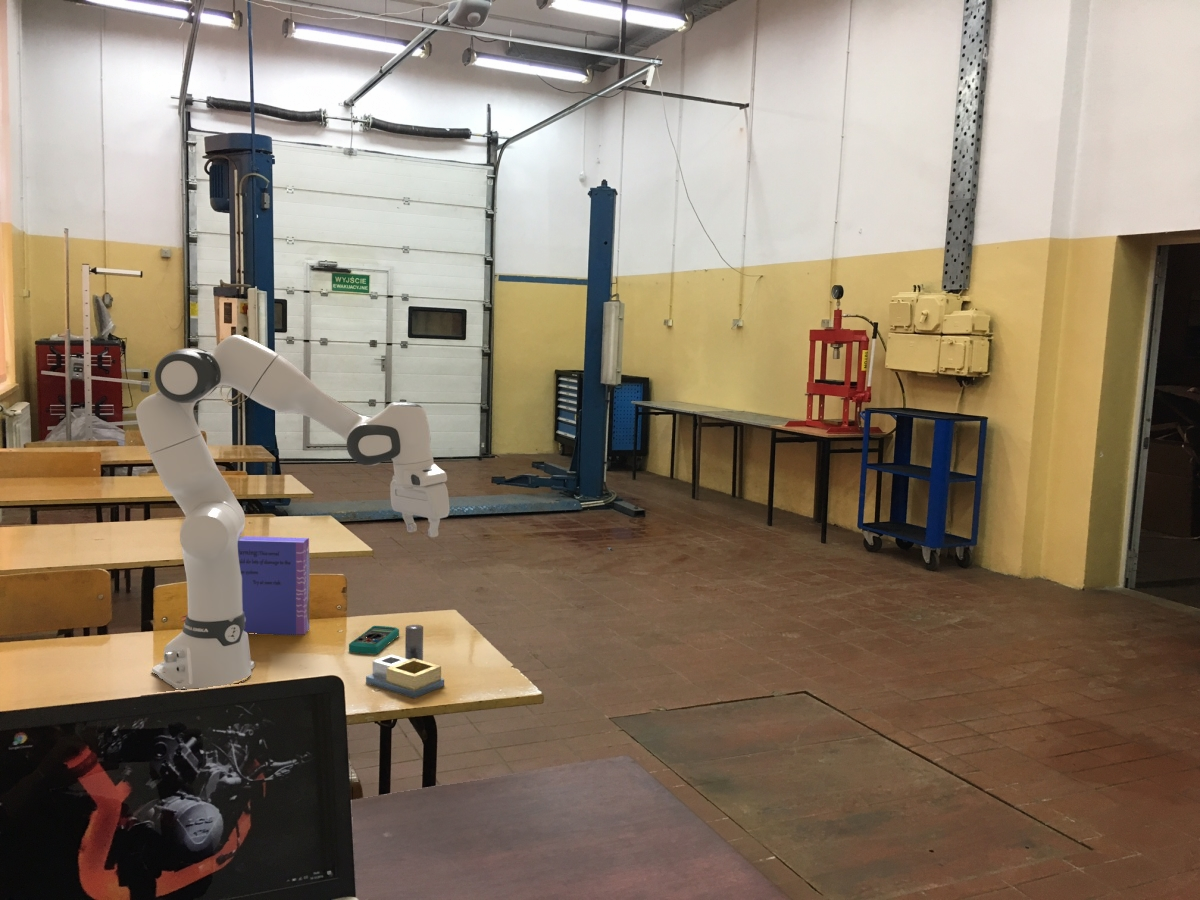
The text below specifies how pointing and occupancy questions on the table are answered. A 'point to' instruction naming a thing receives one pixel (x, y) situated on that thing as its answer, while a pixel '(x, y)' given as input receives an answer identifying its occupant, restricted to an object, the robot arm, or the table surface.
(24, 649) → the table surface
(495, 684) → the table surface
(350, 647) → the digital multimeter
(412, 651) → the cylinder
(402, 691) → the desk organizer
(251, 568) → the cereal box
